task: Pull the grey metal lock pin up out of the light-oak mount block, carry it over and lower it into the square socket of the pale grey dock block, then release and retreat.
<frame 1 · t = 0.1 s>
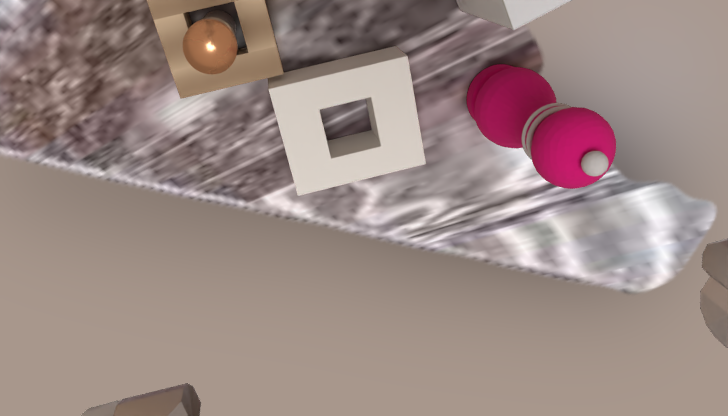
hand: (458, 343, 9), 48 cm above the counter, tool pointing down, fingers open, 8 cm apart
pin: (218, 28, 52), resting in mount
dock: (343, 112, 57), on the counter
mount: (218, 28, 52), on the counter
pepper mill: (496, 95, 59), on the counter
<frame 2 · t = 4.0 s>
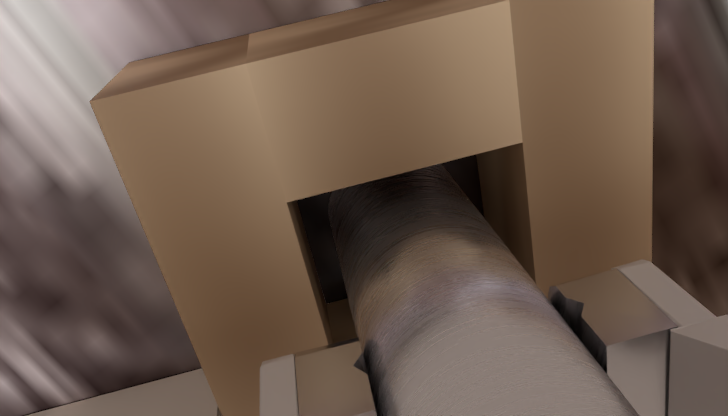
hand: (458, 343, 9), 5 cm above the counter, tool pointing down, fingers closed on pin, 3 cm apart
pin: (392, 207, 14), resting in mount, touching gripper
mount: (393, 207, 14), on the counter
when the fingers open (8 cm above the counter, at t = 9.3 s): pin drops 2 cm, resting in dock.
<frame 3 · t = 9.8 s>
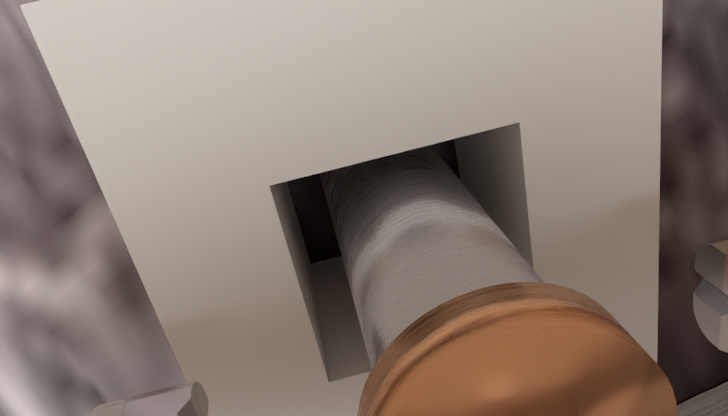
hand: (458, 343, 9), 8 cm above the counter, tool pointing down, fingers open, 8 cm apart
pin: (375, 166, 16), resting in dock
dock: (373, 170, 16), on the counter
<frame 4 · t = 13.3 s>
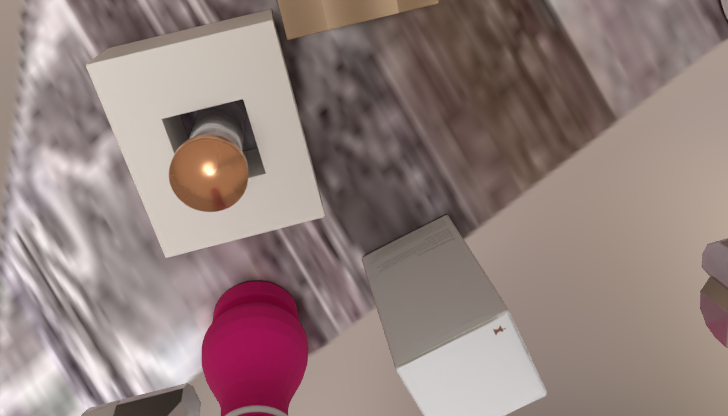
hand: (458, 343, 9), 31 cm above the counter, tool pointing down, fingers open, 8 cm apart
pin: (221, 120, 39), resting in dock
dock: (220, 122, 39), on the counter
supplement box: (421, 269, 46), on the counter
pepper mill: (256, 314, 45), on the counter
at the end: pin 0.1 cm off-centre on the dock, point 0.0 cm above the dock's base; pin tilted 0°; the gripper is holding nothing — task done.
